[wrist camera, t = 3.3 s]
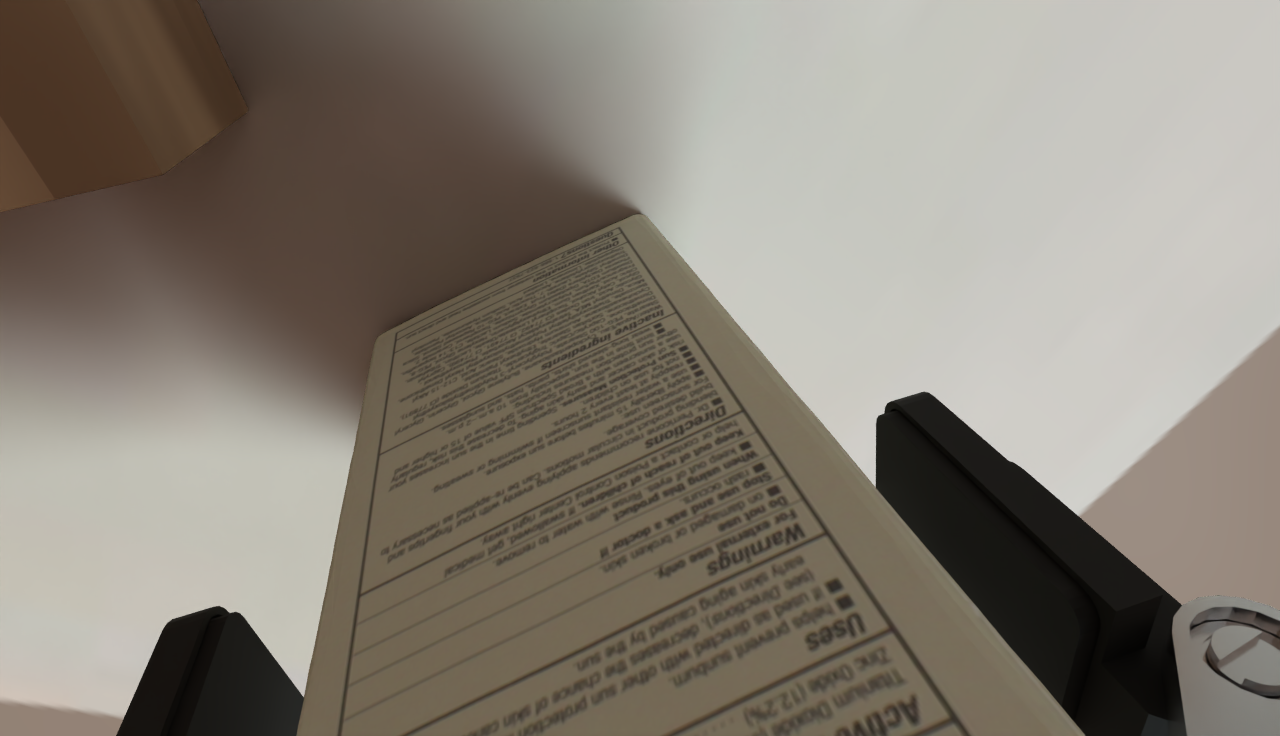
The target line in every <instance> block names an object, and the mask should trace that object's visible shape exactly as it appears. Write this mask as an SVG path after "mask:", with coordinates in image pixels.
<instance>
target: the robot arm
mask: <svg viewBox="0 0 1280 736" xmlns="http://www.w3.org/2000/svg"><path fill="white" fill-rule="evenodd" d="M876 489H877V490H878V491H879V492H880V494H881V495H882V496H883V497H884V498H885V500H886V501H887V502H888V503H889V504H890V505H891V507H892V508H893V509H894V510H895V511H896V513H897V514H898V515H899V516H900V517H901V518H902V520H903V521H904V522H905V523H906V524H907V526H908V527H909V528H910V529H911V530H912V531H913V533H914V534H915V535H916V536H917V537H918V538H919V540H920V541H921V542H922V543H923V544H924V546H925V547H926V548H927V549H928V550H929V551H930V553H931V554H932V555H933V556H934V557H935V558H936V560H937V561H938V562H939V563H940V564H941V566H942V567H943V568H944V569H945V570H946V571H947V573H948V574H949V575H950V576H951V577H952V578H953V580H954V581H955V582H956V583H957V584H958V585H959V587H960V588H961V589H962V590H963V591H964V593H965V594H966V595H967V596H968V597H969V598H970V600H971V601H972V602H973V603H974V604H975V605H976V607H977V608H978V609H979V610H980V611H981V613H982V614H983V615H984V616H985V617H986V619H987V620H988V621H989V622H990V624H991V625H992V626H993V627H994V628H995V630H996V631H997V632H998V633H999V634H1000V636H1001V637H1002V638H1003V639H1004V641H1005V642H1006V643H1007V644H1008V645H1009V646H1010V648H1011V649H1012V650H1013V651H1014V652H1015V653H1016V654H1017V656H1018V657H1019V658H1020V659H1021V660H1022V661H1023V662H1024V664H1025V665H1026V666H1027V667H1028V668H1029V669H1030V670H1031V672H1032V673H1033V674H1034V675H1035V676H1036V677H1037V678H1038V680H1039V681H1040V682H1041V683H1042V684H1043V685H1044V686H1045V688H1046V689H1047V690H1048V691H1049V692H1050V694H1051V695H1052V696H1053V697H1054V698H1055V700H1056V701H1057V702H1058V703H1059V704H1060V706H1061V707H1062V708H1063V709H1064V710H1065V712H1066V713H1067V714H1068V715H1069V716H1070V718H1071V719H1072V720H1073V721H1074V722H1075V724H1076V725H1077V726H1078V727H1079V728H1080V730H1081V731H1082V732H1083V733H1084V734H1085V736H1280V610H1277V609H1275V608H1273V607H1271V606H1269V605H1265V604H1262V603H1259V602H1255V601H1252V600H1248V599H1245V598H1239V597H1230V596H1220V595H1217V596H1208V597H1200V598H1196V599H1194V600H1192V601H1190V602H1188V603H1186V604H1184V605H1181V604H1180V603H1179V602H1178V601H1177V600H1175V599H1174V598H1173V597H1172V596H1171V595H1170V594H1168V593H1167V592H1166V591H1165V590H1164V589H1162V588H1161V587H1160V586H1159V585H1158V584H1157V583H1156V582H1154V581H1153V580H1152V579H1151V578H1150V577H1149V576H1147V575H1146V574H1145V573H1144V572H1142V571H1141V570H1140V569H1139V568H1138V567H1137V566H1136V565H1134V564H1133V563H1132V562H1131V561H1130V560H1129V559H1128V558H1126V557H1125V556H1124V555H1123V554H1122V553H1121V552H1119V551H1118V550H1117V549H1116V548H1115V547H1114V546H1112V545H1111V544H1110V543H1109V542H1108V541H1107V540H1105V539H1104V538H1103V537H1102V536H1101V535H1099V534H1098V533H1097V532H1096V531H1095V530H1094V529H1093V528H1091V527H1090V526H1089V525H1088V524H1087V523H1086V522H1084V521H1083V520H1082V519H1081V518H1080V517H1079V516H1077V515H1076V514H1075V513H1074V512H1073V511H1072V510H1070V509H1069V508H1068V507H1067V506H1066V505H1065V504H1063V503H1062V502H1061V501H1060V500H1059V499H1058V498H1056V497H1055V496H1054V495H1053V494H1052V493H1051V492H1049V491H1048V490H1047V489H1046V488H1045V487H1044V486H1042V485H1041V484H1040V483H1039V482H1038V481H1037V480H1035V479H1034V478H1033V477H1032V476H1031V475H1030V474H1028V473H1027V472H1026V471H1025V470H1024V469H1022V468H1021V467H1019V466H1018V465H1016V464H1015V463H1013V462H1010V461H1008V460H1007V459H1006V458H1005V457H1003V456H1002V455H1001V454H1000V453H999V452H998V451H996V450H995V449H994V448H993V447H992V446H991V445H990V444H988V443H987V442H986V441H985V440H984V439H983V438H981V437H980V436H979V435H978V434H977V433H976V432H975V431H973V430H972V429H971V428H970V427H969V426H968V425H966V424H965V423H964V422H963V421H962V420H961V419H959V418H958V417H957V416H956V415H955V414H954V413H953V412H951V411H950V410H949V409H948V408H947V407H946V406H944V405H943V404H942V403H941V402H940V401H939V400H938V399H936V398H935V397H934V396H933V395H931V394H930V393H928V392H921V393H918V394H914V395H911V396H908V397H905V398H901V399H898V400H895V401H891V402H889V403H887V405H886V407H885V413H884V414H882V415H880V416H878V418H877V422H876ZM303 701H304V697H303V696H302V695H301V693H300V692H299V691H298V689H297V688H296V687H295V685H294V684H293V683H292V681H291V680H290V678H289V677H288V676H287V674H286V673H285V672H284V670H283V669H282V668H281V666H280V665H279V664H278V662H277V661H276V660H275V658H274V657H273V656H272V654H271V653H270V652H269V650H268V649H267V648H266V646H265V645H264V644H263V642H262V641H261V640H260V638H259V637H258V636H257V634H256V633H255V632H254V630H253V629H252V628H251V626H250V625H249V624H248V622H247V621H246V620H245V618H244V617H243V616H242V615H241V614H240V613H237V612H233V613H229V612H228V611H227V610H226V609H225V608H223V607H220V606H216V607H212V608H208V609H205V610H202V611H198V612H195V613H192V614H189V615H185V616H182V617H179V618H175V619H172V620H171V621H170V622H168V623H167V624H166V626H165V627H164V629H163V630H162V633H161V635H160V637H159V640H158V642H157V644H156V646H155V649H154V651H153V653H152V655H151V658H150V660H149V662H148V665H147V667H146V669H145V671H144V674H143V676H142V678H141V681H140V683H139V685H138V687H137V690H136V692H135V694H134V697H133V699H132V701H131V703H130V706H129V708H128V710H127V712H126V715H125V717H124V719H123V722H122V724H121V726H120V728H119V731H118V733H117V735H116V736H297V730H298V725H299V720H300V716H301V711H302V706H303Z"/></svg>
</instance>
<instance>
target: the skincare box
mask: <svg viewBox="0 0 1280 736" xmlns="http://www.w3.org/2000/svg"><path fill="white" fill-rule="evenodd" d="M297 736H1085V734H1084V733H1083V732H1082V731H1081V730H1080V728H1079V727H1078V726H1077V725H1076V724H1075V722H1074V721H1073V720H1072V719H1071V718H1070V716H1069V715H1068V714H1067V713H1066V712H1065V710H1064V709H1063V708H1062V707H1061V706H1060V704H1059V703H1058V702H1057V701H1056V700H1055V698H1054V697H1053V696H1052V695H1051V694H1050V692H1049V691H1048V690H1047V689H1046V688H1045V686H1044V685H1043V684H1042V683H1041V682H1040V681H1039V680H1038V678H1037V677H1036V676H1035V675H1034V674H1033V673H1032V672H1031V670H1030V669H1029V668H1028V667H1027V666H1026V665H1025V664H1024V662H1023V661H1022V660H1021V659H1020V658H1019V657H1018V656H1017V654H1016V653H1015V652H1014V651H1013V650H1012V649H1011V648H1010V646H1009V645H1008V644H1007V643H1006V642H1005V641H1004V639H1003V638H1002V637H1001V636H1000V634H999V633H998V632H997V631H996V630H995V628H994V627H993V626H992V625H991V624H990V622H989V621H988V620H987V619H986V617H985V616H984V615H983V614H982V613H981V611H980V610H979V609H978V608H977V607H976V605H975V604H974V603H973V602H972V601H971V600H970V598H969V597H968V596H967V595H966V594H965V593H964V591H963V590H962V589H961V588H960V587H959V585H958V584H957V583H956V582H955V581H954V580H953V578H952V577H951V576H950V575H949V574H948V573H947V571H946V570H945V569H944V568H943V567H942V566H941V564H940V563H939V562H938V561H937V560H936V558H935V557H934V556H933V555H932V554H931V553H930V551H929V550H928V549H927V548H926V547H925V546H924V544H923V543H922V542H921V541H920V540H919V538H918V537H917V536H916V535H915V534H914V533H913V531H912V530H911V529H910V528H909V527H908V526H907V524H906V523H905V522H904V521H903V520H902V518H901V517H900V516H899V515H898V514H897V513H896V511H895V510H894V509H893V508H892V507H891V505H890V504H889V503H888V502H887V501H886V500H885V498H884V497H883V496H882V495H881V494H880V492H879V491H878V490H877V489H876V488H875V486H874V485H873V484H872V483H871V481H870V480H869V479H868V478H867V477H866V475H865V474H864V473H863V472H862V471H861V469H860V468H859V467H858V466H857V465H856V463H855V462H854V461H853V460H852V459H851V457H850V456H849V455H848V454H847V452H846V451H845V450H844V449H843V448H842V446H841V445H840V444H839V443H838V442H837V440H836V439H835V438H834V437H833V436H832V435H831V433H830V432H829V431H828V430H827V429H826V427H825V426H824V425H823V424H822V423H821V422H820V420H819V419H818V418H817V417H816V416H815V414H814V413H813V412H812V411H811V410H810V409H809V408H808V407H807V405H806V404H805V403H804V402H803V401H802V400H801V399H800V398H799V396H798V395H797V394H796V393H795V392H794V391H793V390H792V388H791V387H790V386H789V385H788V384H787V382H786V381H785V380H784V379H783V378H782V376H781V375H780V374H779V373H778V372H777V370H776V369H775V368H774V367H773V365H772V364H771V363H770V362H769V361H768V359H767V358H766V357H765V356H764V355H763V353H762V352H761V351H760V350H759V349H758V347H757V346H756V345H755V344H754V343H753V342H752V340H751V339H750V338H749V337H748V336H747V335H746V333H745V332H744V331H743V330H742V329H741V328H740V326H739V325H738V324H737V323H736V322H735V321H734V319H733V318H732V317H731V316H730V315H729V313H728V312H727V311H726V310H725V309H724V307H723V306H722V305H721V304H720V303H719V302H718V300H717V299H716V298H715V297H714V295H713V294H712V293H711V291H710V290H709V289H708V288H707V287H706V286H705V284H704V283H703V282H702V281H701V280H700V279H699V277H698V276H697V275H696V274H695V272H694V271H693V270H692V269H691V268H690V267H689V265H688V264H687V263H686V262H685V261H684V259H683V258H682V257H681V256H680V255H679V254H678V252H677V251H676V250H675V249H674V248H673V247H672V245H671V244H670V243H669V242H668V241H667V240H666V238H665V237H664V236H663V235H662V234H661V233H660V231H659V230H658V229H657V228H656V227H655V225H654V224H653V223H652V222H651V221H650V219H649V218H648V217H647V216H645V215H641V214H636V215H633V216H630V217H628V218H626V219H624V220H621V221H619V222H617V223H614V224H612V225H610V226H608V227H606V228H603V229H601V230H599V231H597V232H595V233H592V234H590V235H587V236H585V237H583V238H581V239H578V240H576V241H574V242H572V243H570V244H567V245H565V246H563V247H561V248H559V249H557V250H555V251H552V252H550V253H548V254H546V255H544V256H541V257H539V258H537V259H535V260H533V261H531V262H529V263H527V264H525V265H523V266H520V267H518V268H516V269H514V270H512V271H510V272H507V273H505V274H503V275H501V276H499V277H497V278H495V279H493V280H491V281H488V282H486V283H484V284H482V285H480V286H478V287H476V288H474V289H471V290H469V291H467V292H465V293H463V294H461V295H459V296H457V297H455V298H453V299H450V300H448V301H446V302H444V303H442V304H440V305H438V306H436V307H434V308H432V309H430V310H428V311H426V312H424V313H422V314H420V315H418V316H416V317H414V318H412V319H410V320H408V321H406V322H405V323H403V324H401V325H399V326H397V327H395V328H393V329H391V330H389V331H387V332H385V333H383V334H382V335H380V336H379V337H377V339H376V341H375V344H374V348H373V353H372V358H371V363H370V367H369V372H368V377H367V383H366V388H365V394H364V399H363V404H362V410H361V415H360V420H359V425H358V430H357V435H356V441H355V446H354V452H353V456H352V460H351V464H350V469H349V475H348V480H347V485H346V490H345V495H344V500H343V504H342V509H341V514H340V519H339V524H338V530H337V535H336V539H335V545H334V551H333V557H332V562H331V566H330V571H329V576H328V582H327V587H326V592H325V597H324V601H323V606H322V611H321V616H320V621H319V626H318V631H317V636H316V641H315V646H314V651H313V655H312V660H311V664H310V669H309V673H308V679H307V684H306V690H305V695H304V701H303V706H302V711H301V716H300V720H299V725H298V730H297Z"/></svg>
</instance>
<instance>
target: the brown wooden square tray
mask: <svg viewBox="0 0 1280 736" xmlns="http://www.w3.org/2000/svg"><path fill="white" fill-rule="evenodd" d="M248 111H249V110H248V108H247V106H246V104H245V102H244V100H243V97H242V95H241V93H240V91H239V89H238V87H237V85H236V82H235V80H234V78H233V76H232V74H231V72H230V70H229V68H228V65H227V63H226V61H225V59H224V57H223V55H222V53H221V50H220V48H219V46H218V44H217V42H216V40H215V38H214V35H213V33H212V31H211V29H210V27H209V25H208V23H207V20H206V18H205V16H204V14H203V12H202V10H201V8H200V5H199V3H198V1H197V0H0V212H4V211H8V210H12V209H17V208H21V207H25V206H30V205H34V204H38V203H43V202H47V201H51V200H56V199H60V198H64V197H69V196H73V195H77V194H82V193H86V192H90V191H95V190H99V189H103V188H108V187H112V186H116V185H121V184H125V183H129V182H134V181H138V180H142V179H147V178H151V177H155V176H160V175H163V174H165V173H166V172H167V171H169V170H170V169H171V168H173V167H174V166H175V165H177V164H178V163H179V162H181V161H182V160H183V159H185V158H186V157H188V156H189V155H190V154H192V153H193V152H194V151H196V150H197V149H198V148H200V147H201V146H202V145H204V144H205V143H206V142H208V141H209V140H210V139H212V138H213V137H214V136H216V135H217V134H219V133H220V132H221V131H223V130H224V129H225V128H227V127H228V126H229V125H231V124H232V123H233V122H235V121H236V120H237V119H239V118H240V117H241V116H243V115H244V114H245V113H247V112H248Z"/></svg>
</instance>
